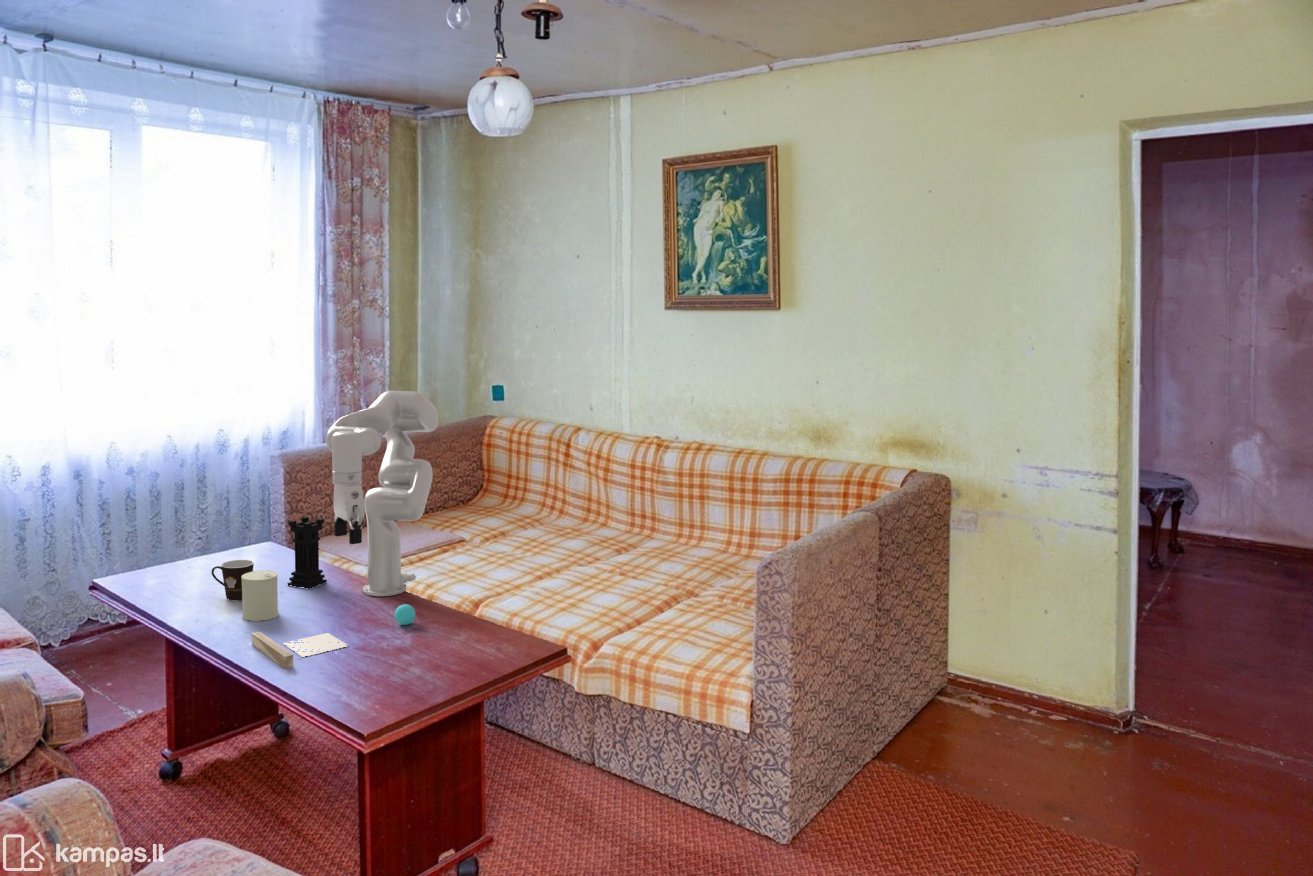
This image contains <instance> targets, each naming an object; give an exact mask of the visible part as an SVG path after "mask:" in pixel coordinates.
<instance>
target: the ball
mask: <svg viewBox="0 0 1313 876" xmlns="http://www.w3.org/2000/svg"><path fill="white" fill-rule="evenodd" d="M393 616H394V620H395V621H396V622H397V624H399V625H402V626H407V625H410V624H411V623H413V621H414V620H415V619H416V610H415V608H413V606H412V605H410V604H407V603H406V604H402V605H401V604H400V605H399V606H398V607H397V608H396V609H395V611H394V615H393Z"/></svg>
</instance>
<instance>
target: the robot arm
mask: <svg viewBox="0 0 1313 876" xmlns="http://www.w3.org/2000/svg"><path fill="white" fill-rule="evenodd" d="M439 419H440V417H439V412H438V409H437V407H436V406H435V405H434V404H433V402H431V401H430V399H429V398H428V397H427V396H426V395H424V394H422V393H421V392H420V391H413V390H411V391H410V390H409V391H407V390H387V391H384V392H383V393H381V394H380V395H379V396H378V397H377V399H375V400H374V401H373V402H372V403H371V404H370V405H369V407H368V408H367V407H366V408H365V409H360V410H357V411H355V412H352V413H349V414H347V415H344V416H341V417H340V418H338V419H337V420H336V421H335V422H334V423H333V424H332V426H331V427H330V428H329V429H328V431H327V434H326V438H325V443H326V447H327V449H328V450H329V451H330V452H332V454H331V455H332V457H331V458H332V459H331V460H332V462H331V463H332V464H331V465H332V484H333V486H334V487H333V503H332V506H333V507H332V508H333V515H334V516H333V520H334V536H335V537H342V536H343V537H344V536H347V534H348V535H349V537H348V538H349V539H348V540H349V545H356V544H361V543H363V542H362V541H363V534H362V529H363V524H364V522H363V520H364V519H365V517H366V526H367V584H365V585H364V586H362V593H364V594H365V595H367V596H371V597H393V596H396V595H400V594H402V593H404V592H405V591H406V590H407V585H406V583H407V582H412V581H415V580H416V575H415V573H411V574H407V573H401V572H402V568H401V567H402V564H401V563H402V548H401V547H402V535H401V531H400V528H399V525H398V524H397V523H396V521H402V522H403V521H404V522H414V521H418V520H419V519H421V518H422V516H423V515H424V512H425V508H426V504H427V501H428V498H429V495H430V490H431V486H432V483H433V473H434V472H433V468H432V467H433V466H432V464H431V463H430V462H429V461H427V460H425V459H419V458H414V455H415V453H416V448H415V445H414V443H413V442H412V440H411V439H410V437H409V436H408V435H407V434H406V432H416V433H417V432H419V433H431V432H433V431H435V430H436V429H437V427H438V424H439ZM381 434H385V438H386V442H387V444H386V449H385V452H384V455H383V459H382V462H381V465H380V468H379V471H378V478H377V479H378V482H379V484H380V486H379V487H374V488H371V489H369V490H368V491H367V492H366V493H365V496H364V491H363V486H362V483H363V456H371V455H373V454H375V453H376V452H378V451H379V449H380V448H381V446H382V445H381V444H382V437H381V436H382V435H381ZM348 524H349V528H350V529H348ZM348 530H349V531H348ZM348 532H349V533H348Z"/></svg>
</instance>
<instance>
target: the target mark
mask: <svg viewBox="0 0 1313 876" xmlns="http://www.w3.org/2000/svg"><path fill="white" fill-rule="evenodd" d="M297 640H298V641H294V640H290V641H286V643H285V642H282V643H281V644H282V645H283V646H285V645H287V646H285V647H286V648H287V649H289V650H290V649H291V650H290V651H292V650H293V651H295V652H294V653H295V654H296V653H297V654H296V655H298V656H299V657H300V658H303V657H304V658H306V657H305V656H308V657H311V655H312V656H315V654H316V655H320V653H321V654H324V653H323V652H325V653H327V652H326V651H329V652H333V651H337V650H340V649H339V648H341V649H344V648H343V647H346V648H349V647H348V646H346V645H348V644H346V642H344V641H342V640H340V639H339V638H337V637H335V636H334V635H332V634H330V633H329V632H326V633H321V634H317V635H313V636H307V637H304V638H298V639H297ZM301 640H302V641H301ZM287 642H291V643H287ZM293 642H300V643H296V644H295V643H293ZM301 642H304V643H301ZM308 642H309V643H308ZM329 642H330V643H329ZM338 642H339V643H338ZM294 645H295V646H294ZM292 647H295V648H292ZM300 647H301V648H300ZM298 649H300V650H298ZM305 649H307V650H305ZM312 649H313V650H312ZM319 649H320V650H319ZM334 649H335V650H334ZM336 649H337V650H336ZM332 650H333V651H332ZM293 651H292V652H293ZM296 651H299V652H296ZM302 651H306V652H302ZM310 651H313V652H310ZM317 651H319V652H317Z"/></svg>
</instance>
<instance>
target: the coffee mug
mask: <svg viewBox="0 0 1313 876" xmlns="http://www.w3.org/2000/svg"><path fill="white" fill-rule="evenodd" d="M254 564H255V562H254V561H253V560H250V559H232V560H228V561H224V562H222V563H220V566H219V565H217V566H214V567H213V568H212V569H211V575H212V577H213V579H214V580H215V581H216V582H218V584H220V585H222V586H223V587H224V592H225V597H226V598H227V599H229V600H228V601H232V600H238V601H242V578H241V576H242V575H243V574H245V573H249V572H253V571H254ZM216 569H219V570H221V572H222V573H221V574H222V578H223V581H222V580H220V579H218V578H217V576H216V575H215V573H214V572H215V570H216ZM226 598H225V599H226ZM227 599H226V600H227Z"/></svg>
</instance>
